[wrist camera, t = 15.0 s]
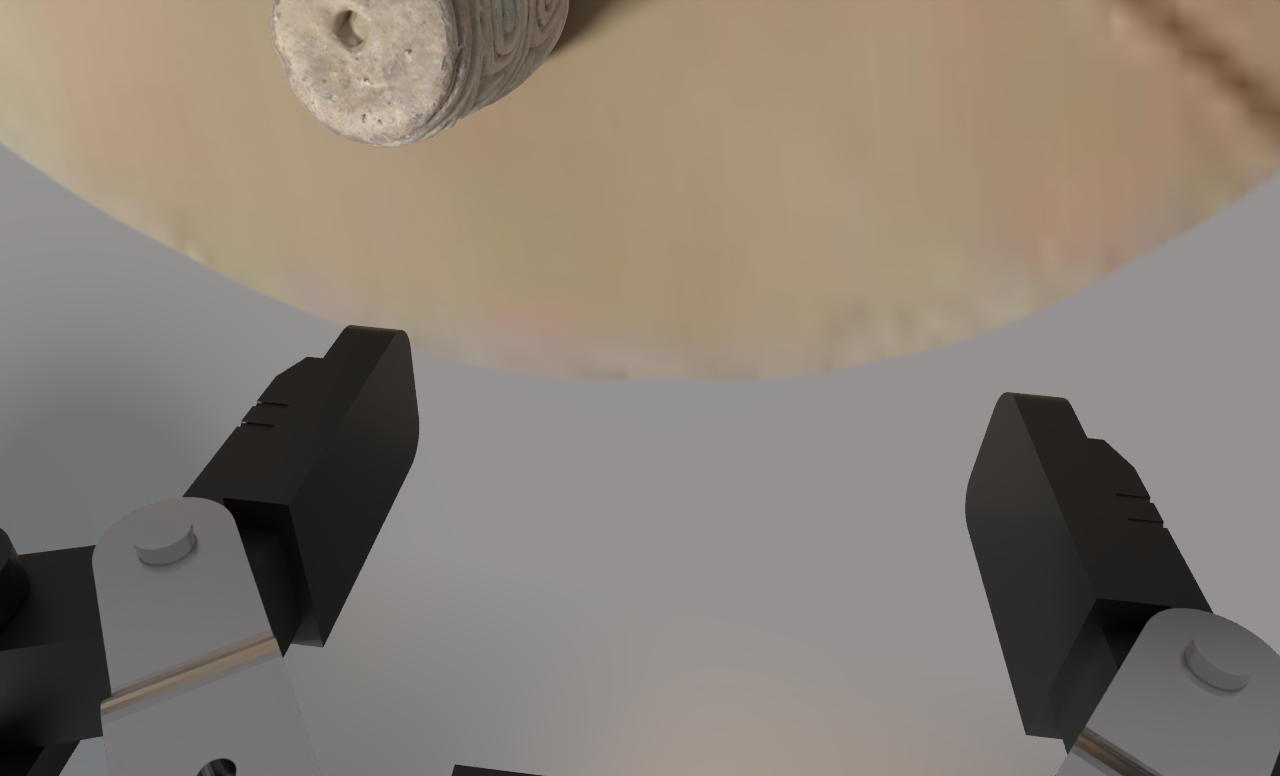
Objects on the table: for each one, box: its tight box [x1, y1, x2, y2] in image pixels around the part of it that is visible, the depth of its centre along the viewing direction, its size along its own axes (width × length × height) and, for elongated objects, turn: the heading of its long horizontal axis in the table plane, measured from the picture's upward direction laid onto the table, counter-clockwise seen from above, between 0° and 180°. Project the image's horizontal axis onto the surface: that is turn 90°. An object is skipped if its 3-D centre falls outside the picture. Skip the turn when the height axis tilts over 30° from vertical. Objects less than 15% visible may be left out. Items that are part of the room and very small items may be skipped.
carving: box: [270, 0, 569, 147], centre depth 30 cm, size 6×8×12 cm
